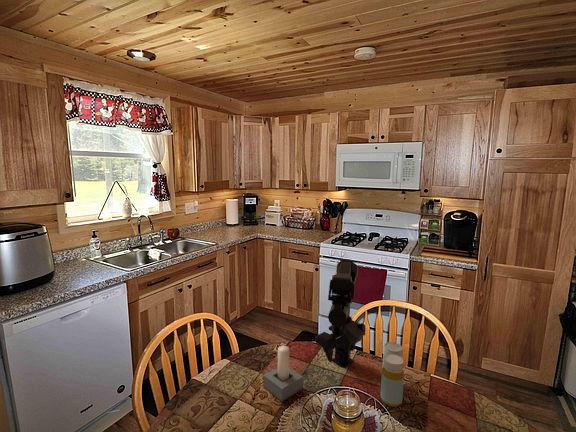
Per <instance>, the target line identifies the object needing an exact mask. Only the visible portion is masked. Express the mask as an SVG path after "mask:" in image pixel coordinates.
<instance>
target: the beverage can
mask: <svg viewBox="0 0 576 432" xmlns="http://www.w3.org/2000/svg"><path fill="white" fill-rule="evenodd" d="M382 351H383V353H382V354H383V355H382V367H381V368H382V369H383V366H384V356H385V355H387V354H395V355H398V356H400V357H401V358H402V359H403V360H404V358H403V357H404V356H403V355H404V349H403V346H402V345H401V344H399V343H396V342H392V341H388V342H385V343H384V346H383V350H382ZM382 369H381V370H382Z"/></svg>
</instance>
